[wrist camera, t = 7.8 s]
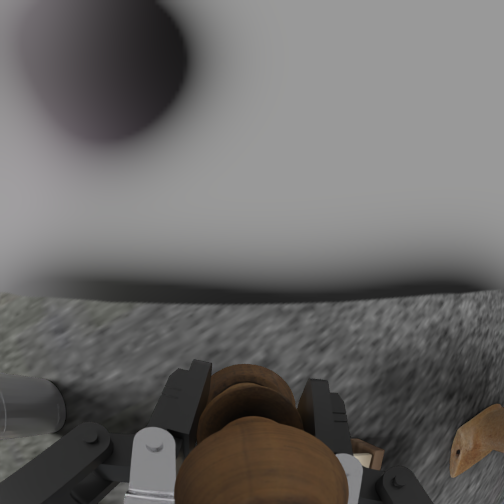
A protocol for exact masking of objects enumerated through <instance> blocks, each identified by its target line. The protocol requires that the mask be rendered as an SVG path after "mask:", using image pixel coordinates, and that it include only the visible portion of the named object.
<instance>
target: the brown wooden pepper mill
mask: <svg viewBox="0 0 504 504" xmlns="http://www.w3.org/2000/svg"><path fill="white" fill-rule="evenodd" d="M196 436H197V446H196V447H195V448H194V449H193V450H192V451H191V452H190V453H189V454H188V456H187V457H186V458H185V460H184V462H183V463H182V465H181V467H180V469H179V472H178V474H177V477H176V481H175V487H174V501H175V504H348V498H349V487H348V480H347V476H346V473H345V471H344V468H343V466H342V464H341V463H340V461H339V459H338V458H337V457H336V455H335V454H334V453H333V452H332V450H331V449H330V448H329V447H327V446H326V445H325V444H324V443H323V442H322V441H320V440H319V439H317V438H316V437H314V436H313V435H311V434H309V433H307V432H305V431H304V428H303V423H302V419H301V417H300V414H299V412H298V410H297V409H296V407H295V400H294V396H293V393H292V391H291V389H290V388H289V386H288V385H287V383H286V382H285V381H284V380H283V379H282V378H281V377H280V376H279V375H278V374H276V373H275V372H273V371H271V370H269V369H267V368H264V367H261V366H257V365H251V364H238V365H233V366H229V367H226V368H224V369H222V370H220V371H218V372H216V373H215V374H213V375H212V376H211V382H210V391H209V397H208V401H207V404H206V408H205V409H204V411H203V412H202V414H201V416H200V419H199V423H198V428H197V434H196Z"/></svg>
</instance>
